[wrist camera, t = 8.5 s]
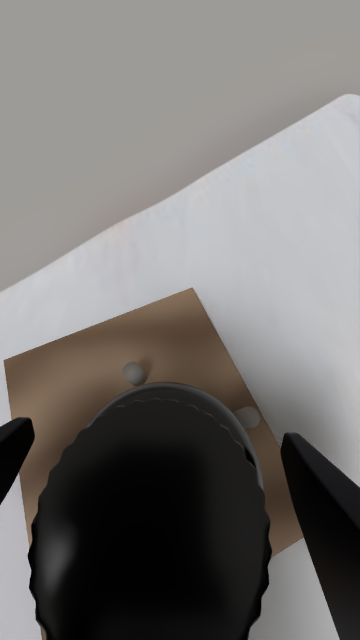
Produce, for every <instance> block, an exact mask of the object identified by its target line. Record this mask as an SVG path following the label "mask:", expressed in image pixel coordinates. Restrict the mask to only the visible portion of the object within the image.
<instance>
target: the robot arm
mask: <svg viewBox="0 0 360 640" xmlns="http://www.w3.org/2000/svg"><path fill="white" fill-rule="evenodd" d="M34 440H35V432H34V428H33V423H32V420H31V418H29V417H17V418H15V419H13V420H12V421H10V422H8V423H6V424H4V425H3V426H1V427H0V505H1V503H2V501H3V500H4V498H5V496H6V495H7V493H8V491H9V490H10V488H11V486H12V484H13V482H14V481H15V479H16V477H17V475H18V473H19V471H20V469H21V467H22V465H23V463H24V461H25V459H26V457H27V455H28V453H29V451H30V449H31V447H32V445H33V443H34ZM280 454H281V460H282V464H283V468H284V472H285V476H286V480H287V484H288V488H289V492H290V496H291V500H292V503H293V507H294V510H295V513H296V516H297V519H298V522H299V525H300V528H301V530H302V533H303V536H304V539H305V542H306V545H307V548H308V550H309V553H310V556H311V559H312V562H313V565H314V567H315V570H316V573H317V576H318V579H319V582H320V585H321V587H322V590H323V593H324V596H325V599H326V602H327V605H328V607H329V610H330V613H331V616H332V619H333V622H334V624H335V627H336V630H337V633H338V636H339V639H340V640H360V487H359V486H357V485H356V484H355V483H354V482H353V481H352V480H351V479H349V478H348V477H347V476H346V475H345V474H344V473H343V472H341V471H340V470H339V469H338V468H337V467H336V466H335V465H333V464H332V463H331V462H330V461H329V460H328V459H327V458H325V457H324V456H323V455H322V454H321V453H320V452H319V451H317V450H316V449H315V448H314V447H313V446H312V445H311V444H310V443H308V442H307V441H306V440H305V439H304V438H303V437H302V436H300V435H299V434H297V433H288V432H287V433H285V434H284V437H283V441H282V446H281V450H280Z"/></svg>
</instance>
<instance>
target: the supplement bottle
mask: <svg viewBox="0 0 360 640" xmlns="http://www.w3.org/2000/svg"><path fill="white" fill-rule="evenodd" d="M270 523H271V521H270V518H269V516H268V514H267V512H266V510H265V493H264V486H263V479H262V473H261V469H260V465H259V461H258V458H257V455H256V452H255V449H254V447H253V445H252V442H251V440H250V438H249V436H248V434H247V433H246V431H245V429H244V428H243V426H242V425H241V423H240V422H239V420H238V419H237V418H236V417H235V415H234V414H233V413H232V412H231V411H230V410H229V409H228V408H227V407H226V406H225V405H224V404H223V403H221V402H220V401H219V400H218V399H216V398H215V397H213V396H212V395H210V394H209V393H207V392H205V391H203V390H201V389H199V388H196V387H193V386H191V385H187V384H183V383H177V382H153V383H147V384H143V385H139V386H136V387H134V388H131V389H129V390H127V391H125V392H123V393H121V394H119V395H118V396H116V397H114V398H113V399H112V400H110V401H109V402H107V403H106V404H105V405H104V406H103V407H102V408H101V409H99V410H98V411H97V413H96V414H95V415H94V416H93V417H92V418H91V419H90V420H89V422H88V423H87V424H86V425H85V427H84V428H83V430H81V431H80V432H79V433H78V435H77V437H76V438H75V440H74V442H73V443H72V444H70V445H68V446H67V447H66V448H65V449H64V450H63V452H62V455H61V457H60V460H59V462H58V463H57V465H55V466H54V467H53V468H52V469H51V470H50V472H49V476H48V481H47V485H46V487H45V488H44V489H43V491H42V492H41V494H40V495H39V497H38V512H37V514H36V516H35V517H34V519H33V522H32V524H31V534H32V543H31V546H30V549H29V552H28V560H29V564H30V567H31V570H32V571H31V577H30V583H29V589H30V591H31V594H32V596H33V597H34V599H35V601H36V609H35V614H36V621H37V622H38V624H39V625H40V626H41V628H42V629H43V630H44V631H45V634H46V640H248V637H249V631H250V627H251V626H252V625H253V624H254V623H255V622H256V621H257V619H258V618H259V617H260V615H261V598H262V596H263V594H264V593H265V591H266V589H267V587H268V585H269V575H268V564H269V561H270V559H271V555H272V548H271V544H270V541H269V537H268V536H269V531H270Z"/></svg>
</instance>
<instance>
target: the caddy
mask: <svg viewBox="0 0 360 640" xmlns="http://www.w3.org/2000/svg"><path fill="white" fill-rule="evenodd" d="M4 367H5V374H6V381H7V389H8V396H9V403H10V410H11V418H12V420H13V419H15V418H17V417H29V418H31V420H32V423H33V428H34V432H35V440H34V443H33V445H32V447H31V449H30V451H29V453H28V455H27V457H26V459H25V461H24V463H23V465H22V467H21V469H20V471H19V475H20V483H21V490H22V497H23V504H24V512H25V519H26V526H27V533H28V541H29V548H30V546H31V543H32V534H31V524H32V522H33V519H34V517H35V516H36V514H37V512H38V497H39V495H40V494H41V492H42V491H43V489H44V488H45V487H46V485H47V481H48V476H49V472H50V470H51V469H52V468H53V467H54V466H55V465H57V463H58V462H59V460H60V457H61V455H62V452H63V450H64V449H65V448H66V447H67V446H68V445H70V444H72V443H73V442H74V440H75V438H76V437H77V435H78V433H79V432H80V431H81V430H83V428H84V427H85V425H86V424H87V423H88V422H89V420H90V419H91V418H92V417H93V416H94V415H95V414H96V413H97V411H98V410H99V409H101V408H102V407H103V406H104V405H105V404H106V403H107V402H109V401H110V400H112V399H113V398H114V397H116V396H118V395H119V394H121V393H123V392H125V391H127V390H129V389H131V388H134V387H136V386H139V385H143V384H147V383H153V382H177V383H183V384H187V385H191V386H193V387H196V388H199V389H201V390H203V391H205V392H207V393H209V394H210V395H212V396H213V397H215V398H216V399H218V400H219V401H220V402H221V403H223V404H224V405H225V406H226V407H227V408H228V409H229V410H230V411H231V412H232V413H233V414H234V415H235V417H236V418H237V419H238V420H239V422H240V423H241V425H242V426H243V428H244V429H245V431H246V433H247V434H248V436H249V438H250V440H251V442H252V445H253V447H254V449H255V452H256V455H257V458H258V461H259V465H260V469H261V473H262V479H263V486H264V493H265V510H266V512H267V514H268V516H269V518H270V521H271V523H270V531H269V536H268V537H269V541H270V544H271V548H272V555H271V557H273V556H274V555H276V554H277V553H279V552H281V551H282V550H284V549H285V548H287V547H289V546H290V545H292V544H293V543H295V542H297V541H298V540H300V539H301V538H303V537H304V536H303V533H302V530H301V528H300V525H299V522H298V519H297V516H296V513H295V510H294V507H293V503H292V500H291V496H290V492H289V488H288V484H287V480H286V476H285V472H284V468H283V464H282V460H281V454H280V450H281V449H280V447H279V445H278V443H277V441H276V440H275V438H274V436H273V434H272V432H271V430H270V429H269V427H268V425H267V423H266V421H265V419H264V418H263V416H262V414H261V412H260V410H259V408H258V407H257V405H256V403H255V401H254V399H253V397H252V396H251V394H250V392H249V390H248V388H247V386H246V385H245V383H244V381H243V379H242V377H241V375H240V374H239V372H238V370H237V368H236V366H235V365H234V363H233V361H232V359H231V357H230V355H229V354H228V352H227V350H226V348H225V346H224V344H223V343H222V341H221V339H220V337H219V335H218V333H217V332H216V330H215V328H214V326H213V324H212V322H211V321H210V319H209V317H208V315H207V313H206V311H205V310H204V308H203V306H202V304H201V302H200V301H199V299H198V297H197V295H196V293H195V291H194V290H193V288H190V289H187V290H185V291H182V292H179V293H177V294H174V295H172V296H169V297H166V298H164V299H161V300H159V301H156V302H153V303H151V304H148V305H146V306H143V307H140V308H138V309H135V310H133V311H130V312H127V313H125V314H122V315H120V316H117V317H115V318H112V319H109V320H107V321H104V322H102V323H99V324H96V325H94V326H91V327H89V328H86V329H83V330H81V331H78V332H76V333H73V334H70V335H68V336H65V337H63V338H60V339H58V340H55V341H52V342H50V343H47V344H45V345H42V346H39V347H37V348H34V349H32V350H29V351H26V352H24V353H21V354H19V355H16V356H13V357H11V358H8V359H6V360H4ZM40 627H41V626H40ZM41 635H42V640H46V634H45V631H44V630H43V629H42V628H41Z"/></svg>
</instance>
